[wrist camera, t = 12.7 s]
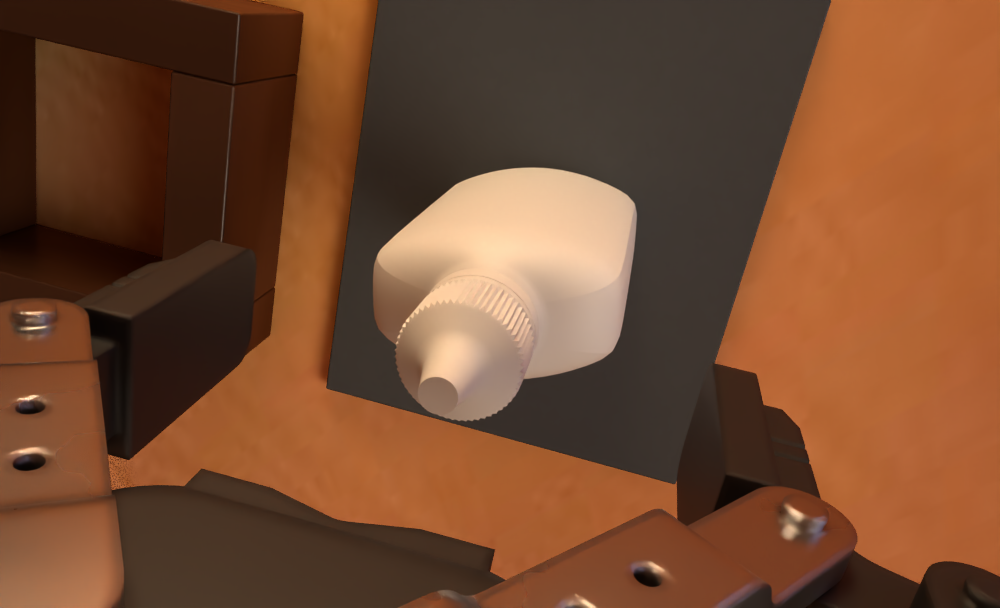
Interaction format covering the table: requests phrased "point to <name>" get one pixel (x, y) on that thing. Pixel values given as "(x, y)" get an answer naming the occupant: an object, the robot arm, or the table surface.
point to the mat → (593, 153)
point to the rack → (191, 138)
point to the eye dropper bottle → (504, 286)
